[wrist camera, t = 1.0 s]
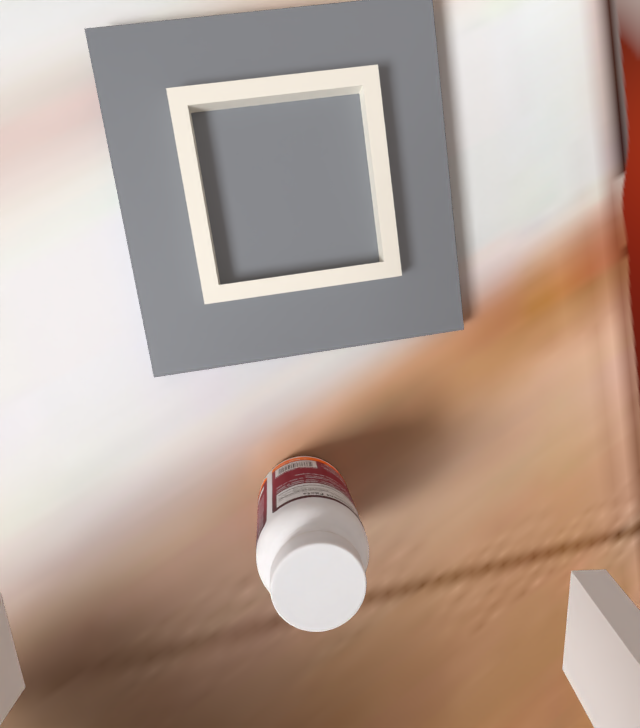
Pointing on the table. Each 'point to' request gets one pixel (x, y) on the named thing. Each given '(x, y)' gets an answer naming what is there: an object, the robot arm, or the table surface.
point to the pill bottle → (311, 544)
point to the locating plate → (281, 179)
